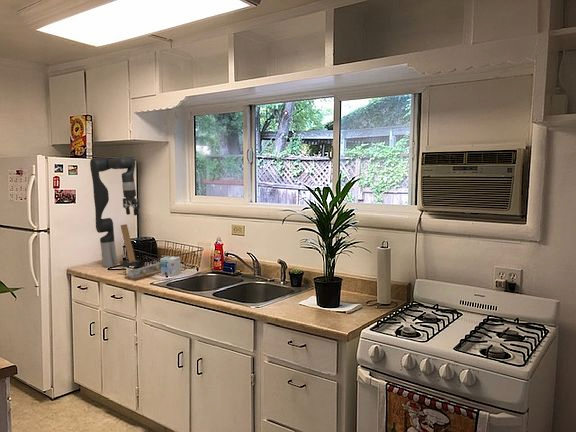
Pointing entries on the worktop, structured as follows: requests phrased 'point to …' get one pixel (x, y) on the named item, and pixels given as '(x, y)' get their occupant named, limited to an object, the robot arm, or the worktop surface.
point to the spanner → (140, 271)
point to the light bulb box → (170, 266)
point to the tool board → (144, 275)
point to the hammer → (129, 250)
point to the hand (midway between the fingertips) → (132, 214)
